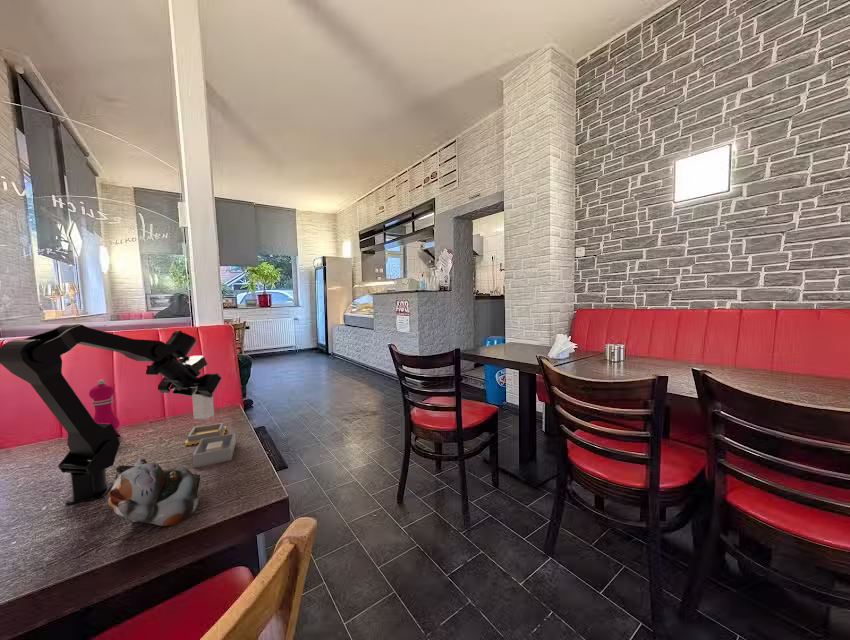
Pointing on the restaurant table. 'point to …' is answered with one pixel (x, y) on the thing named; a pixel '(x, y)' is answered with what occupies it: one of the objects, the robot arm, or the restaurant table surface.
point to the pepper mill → (103, 404)
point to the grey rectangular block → (202, 405)
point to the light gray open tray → (214, 450)
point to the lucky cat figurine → (154, 493)
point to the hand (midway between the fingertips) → (206, 396)
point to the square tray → (204, 433)
